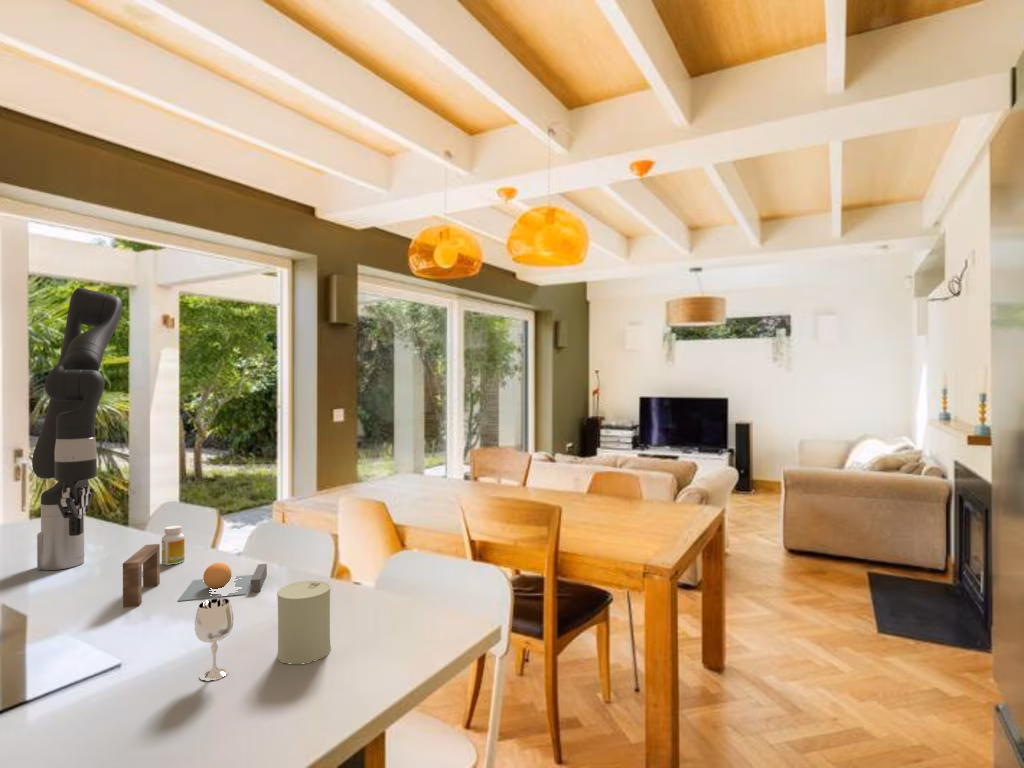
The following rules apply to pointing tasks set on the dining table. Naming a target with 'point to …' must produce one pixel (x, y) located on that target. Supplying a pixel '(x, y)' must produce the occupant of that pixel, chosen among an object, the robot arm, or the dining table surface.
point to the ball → (217, 575)
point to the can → (303, 622)
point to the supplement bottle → (173, 546)
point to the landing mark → (202, 591)
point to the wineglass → (214, 628)
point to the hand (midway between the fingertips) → (76, 534)
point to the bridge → (140, 574)
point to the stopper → (258, 578)
